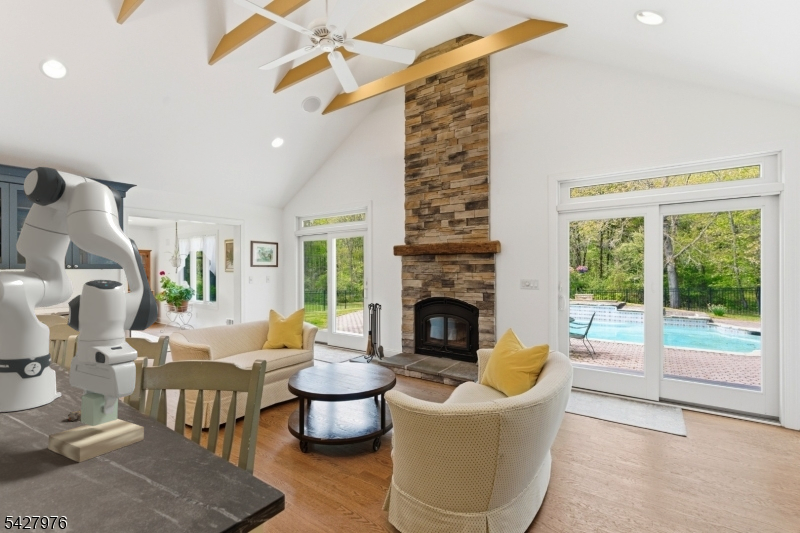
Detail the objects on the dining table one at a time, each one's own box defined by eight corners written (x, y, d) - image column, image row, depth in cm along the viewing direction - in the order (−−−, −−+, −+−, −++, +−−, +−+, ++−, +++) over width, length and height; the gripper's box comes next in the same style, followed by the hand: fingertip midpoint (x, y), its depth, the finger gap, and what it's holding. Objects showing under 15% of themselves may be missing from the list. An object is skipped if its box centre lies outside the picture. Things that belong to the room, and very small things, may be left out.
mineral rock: (114, 400, 115) (118, 399, 110) (115, 415, 114) (119, 415, 109) (66, 409, 108) (68, 409, 102) (67, 426, 107) (68, 426, 101)
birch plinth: (48, 449, 88) (48, 435, 88) (112, 429, 100) (112, 417, 100) (79, 462, 82) (80, 448, 82) (143, 439, 94) (144, 427, 94)
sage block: (80, 422, 90) (81, 395, 90) (105, 415, 94) (106, 390, 95) (92, 426, 88) (93, 399, 88) (117, 419, 92) (118, 393, 92)
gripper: (61, 348, 93) (59, 407, 93) (111, 357, 84) (109, 423, 84) (92, 344, 99) (90, 399, 99) (142, 352, 90) (140, 414, 90)
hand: (99, 410), depth 91 cm, fingers closed on sage block, 5 cm apart
